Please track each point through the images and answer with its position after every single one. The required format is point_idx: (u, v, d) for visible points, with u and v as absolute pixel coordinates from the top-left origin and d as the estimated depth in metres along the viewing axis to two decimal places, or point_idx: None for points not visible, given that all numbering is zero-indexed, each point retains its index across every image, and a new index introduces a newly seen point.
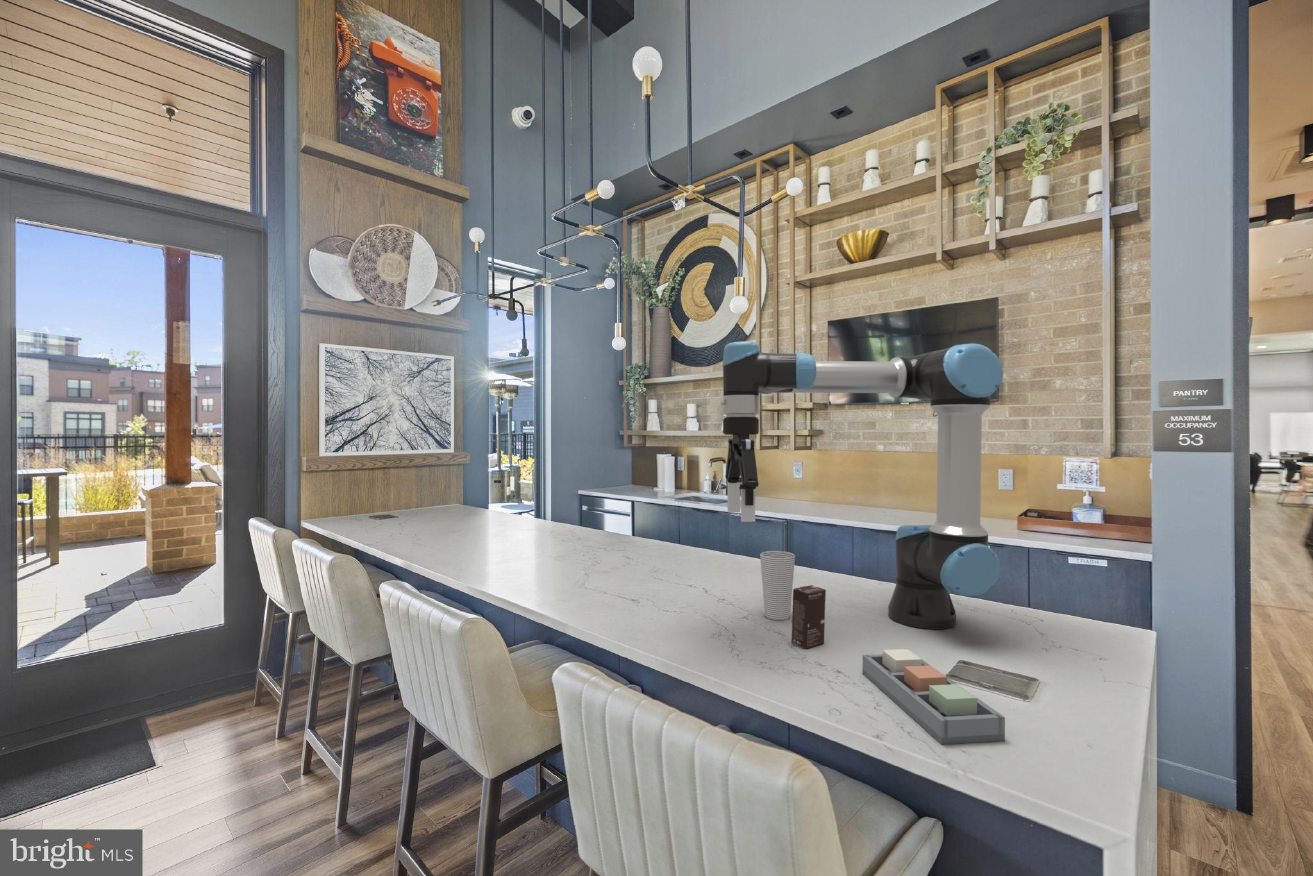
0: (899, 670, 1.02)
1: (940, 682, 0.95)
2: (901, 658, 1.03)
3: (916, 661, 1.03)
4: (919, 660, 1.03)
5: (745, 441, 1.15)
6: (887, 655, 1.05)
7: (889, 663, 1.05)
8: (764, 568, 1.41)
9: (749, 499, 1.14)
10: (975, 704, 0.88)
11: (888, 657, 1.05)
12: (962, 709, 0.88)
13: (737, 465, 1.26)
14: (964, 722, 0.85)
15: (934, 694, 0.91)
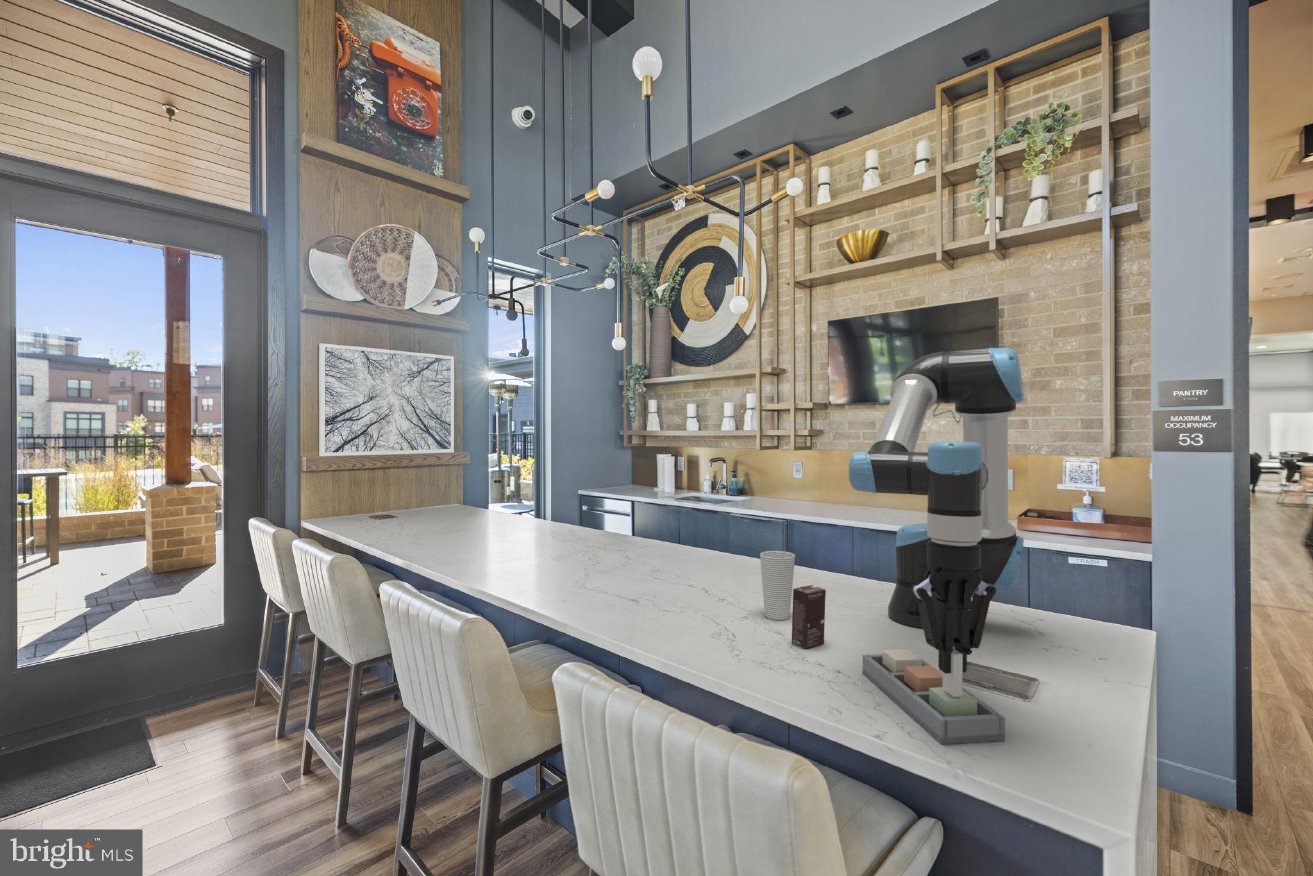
0: (899, 670, 1.02)
1: (940, 682, 0.95)
2: (901, 658, 1.03)
3: (916, 661, 1.03)
4: (919, 660, 1.03)
5: (913, 590, 0.90)
6: (887, 655, 1.05)
7: (889, 663, 1.05)
8: (764, 568, 1.41)
9: (940, 663, 0.90)
10: (975, 706, 0.88)
11: (888, 657, 1.05)
12: (962, 712, 0.88)
13: (957, 614, 0.90)
14: (964, 722, 0.85)
15: (934, 697, 0.91)
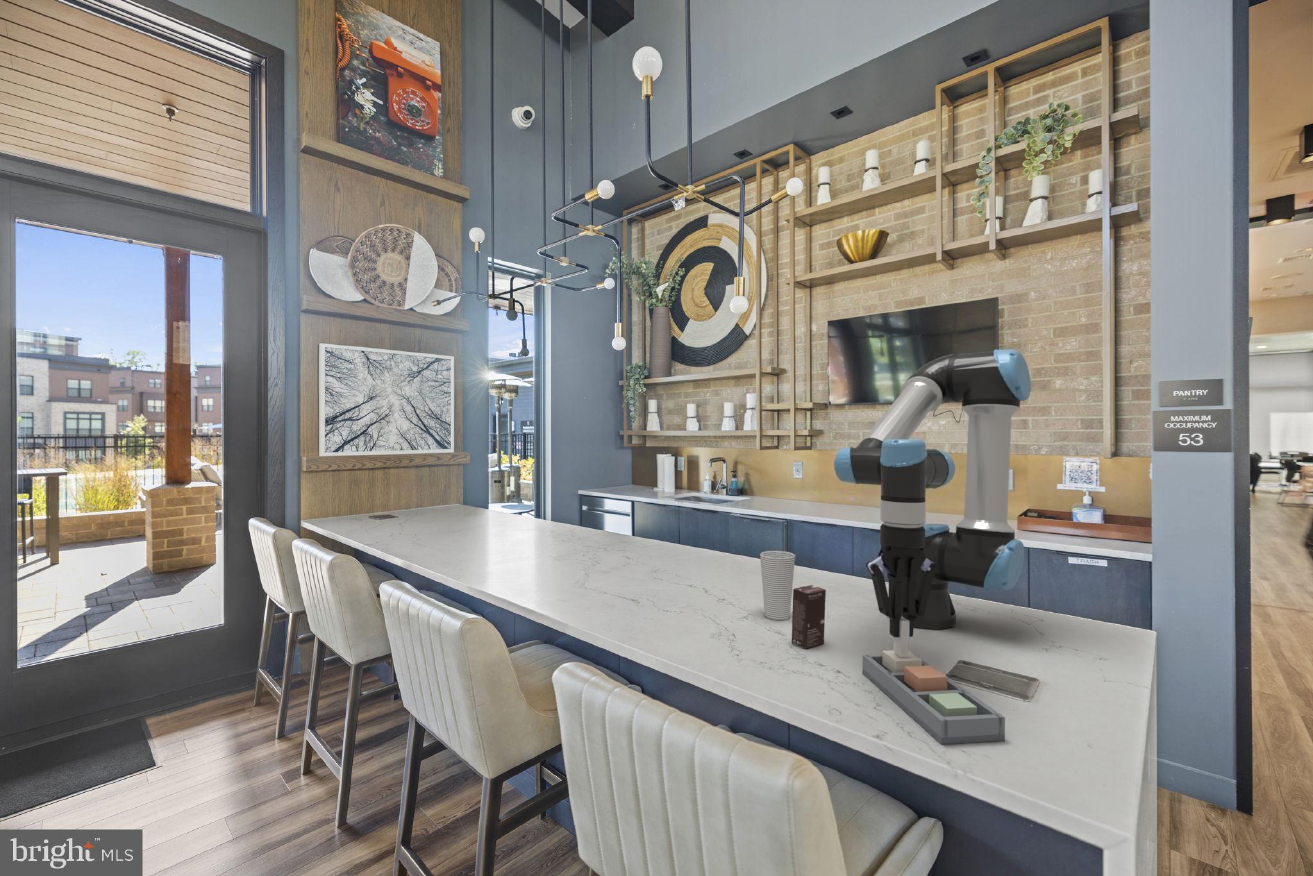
0: (899, 671, 1.02)
1: (940, 682, 0.95)
2: (901, 659, 1.03)
3: (916, 662, 1.03)
4: (919, 661, 1.03)
5: (867, 566, 1.05)
6: (887, 656, 1.05)
7: (889, 664, 1.05)
8: (764, 568, 1.41)
9: (891, 629, 1.05)
10: (975, 713, 0.88)
11: (888, 658, 1.05)
12: None
13: (905, 587, 1.05)
14: (964, 722, 0.85)
15: (934, 703, 0.91)
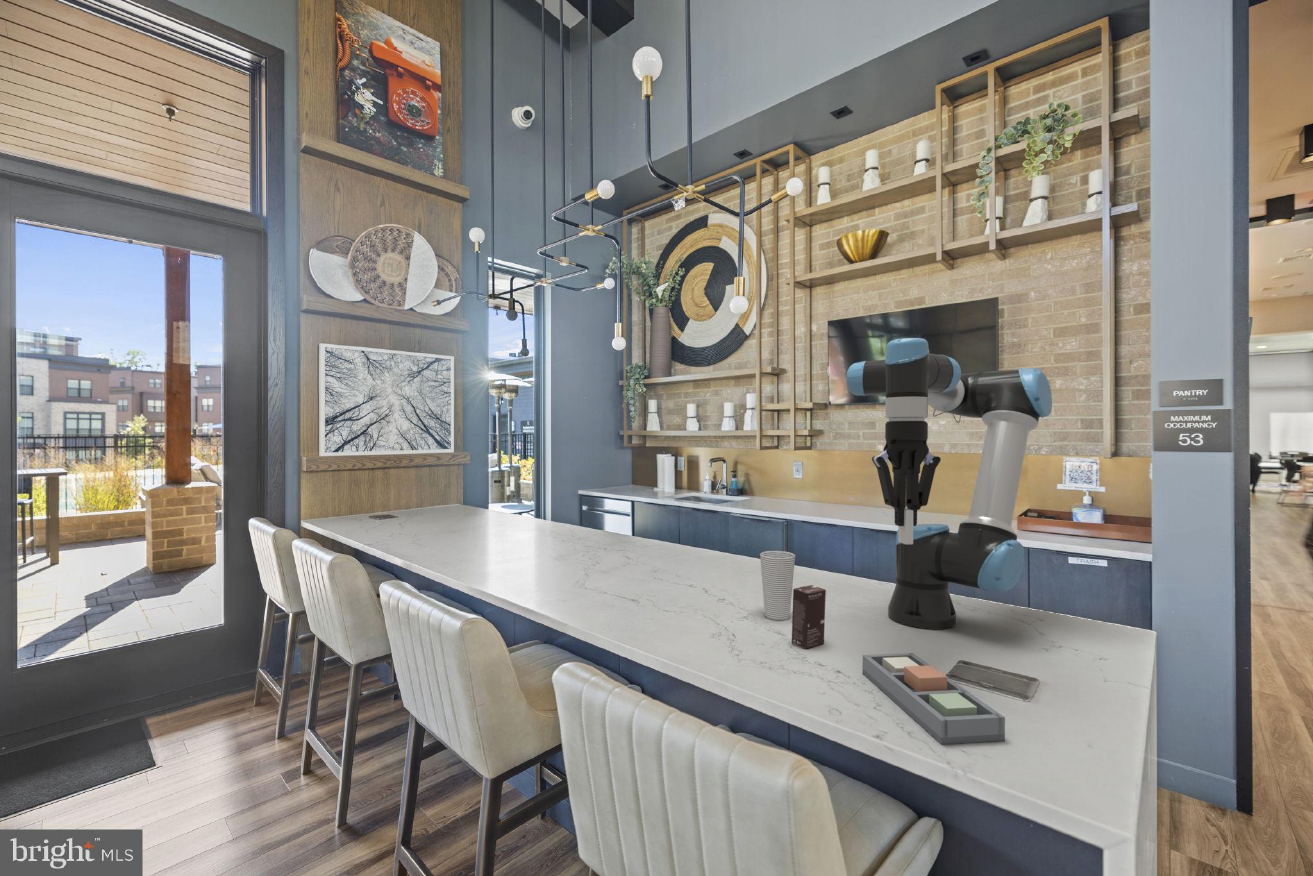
0: None
1: (940, 682, 0.95)
2: (901, 666, 1.03)
3: None
4: None
5: (873, 460, 1.11)
6: (887, 663, 1.05)
7: (889, 671, 1.05)
8: (764, 568, 1.41)
9: (896, 519, 1.11)
10: (975, 713, 0.88)
11: (888, 665, 1.05)
12: None
13: (909, 479, 1.11)
14: (964, 722, 0.85)
15: (934, 703, 0.91)
